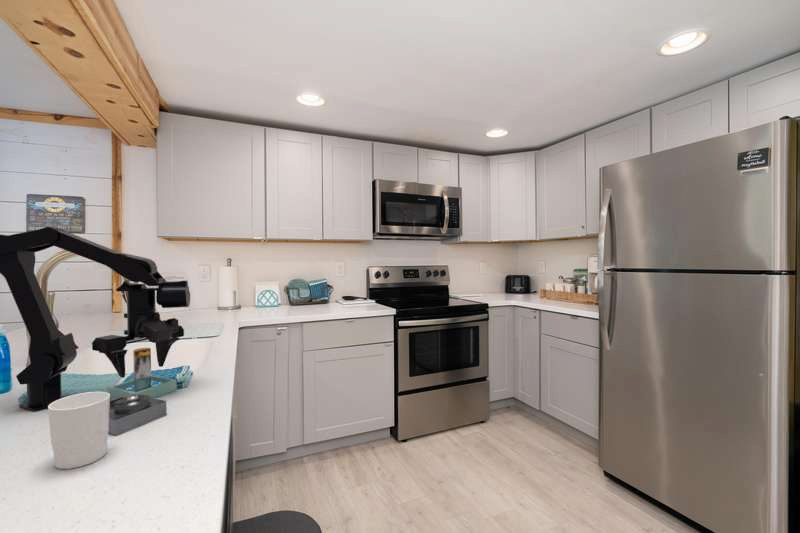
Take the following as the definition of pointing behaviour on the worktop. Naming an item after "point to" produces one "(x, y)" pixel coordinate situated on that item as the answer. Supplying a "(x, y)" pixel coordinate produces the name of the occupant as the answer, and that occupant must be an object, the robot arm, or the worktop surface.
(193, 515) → the worktop surface
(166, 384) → the tray
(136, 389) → the grey orange-capped bottle
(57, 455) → the white cup
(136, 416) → the tensioner block
